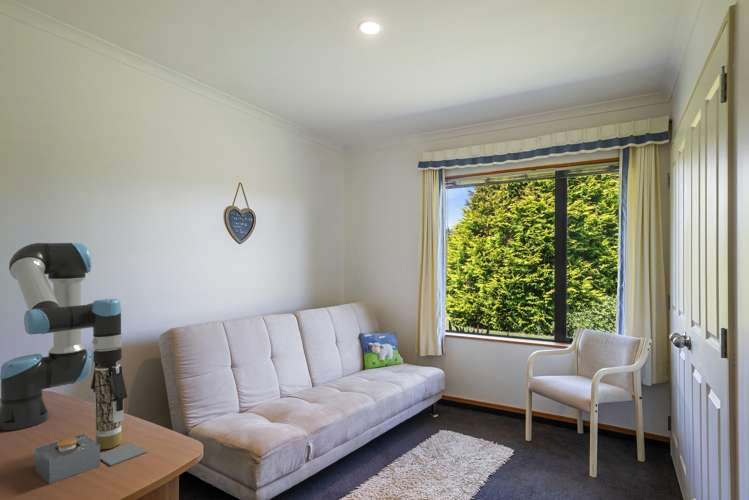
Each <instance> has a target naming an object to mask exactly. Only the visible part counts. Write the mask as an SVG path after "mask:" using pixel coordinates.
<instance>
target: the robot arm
mask: <svg viewBox="0 0 749 500" xmlns="http://www.w3.org/2000/svg"><path fill="white" fill-rule="evenodd" d="M8 269H9V273H10V275H11V277H12V278H13V279H14V280H16V281H17V283H18V286H19V289H20V291H21V293H22V295H23V296H22V297H23V298H24V301H25V303H26V306H27V309H28V310H27V311H25V313H24V316H23V317H24V318H23V326H24V330H25V332H26V334H28V335H46V334H53V338H52V339H53V340H52V341H53V346H52V347H51V348H50V349H49V350H48V355H47V356H43V355H42V354H41V353H32V354H26V355H22V356H21V355H20V356H18V357H15V358H12V359H11V358H10V359H9V360H7V361H5V362H3V364H2V365H1V367H0V430H2V432H7V431H16V430H17V431H18V430H21V429H26V428H30V427H34V426H38V425H39V424H41V423H44V422H46V421H47V420H48V419H49V418H50V413H49V409H48V407H47V404H46V402H45V400H44V398H43V390H47V389H51V388H56V387H61V386H66V385H73V384H75V383H80V382H83V381H84V380H86V379H87V378H88V377H89V375H90V372H91V369H92V356H93V363H94V370H93V374H92V380H91V384H90V389H91V390H92V391H93V394H94V395H93V398H94V399H93V401H94V414H95V415H96V398H95V367H96V366H98V365H101V366H104V367H107V368H108V370H109V374H112V377H111V378H109V376H108V375H106V382H108V383H109V385H110V388H111V391H112V394H113V397H114V399H113V400H112V402H113V422H114V423H115V422H119V421H121V422H122V421H124V420H125V417H124V416H125V413H124V409H125V407H124V399H127V398H128V394H127V393H128V392H127V389H126V385H125V384H126V382H125V380H124V375H123V366H122V365H120V366H117V365H116V363H118V362H119V361H121V360H122V357H123V354H122V350H123V349H122V348H121V347H122V345H123V343H122V340H123V339H122V307H121V306H122V305H121V304H122V303H121V301H120V299H118V298H102V299H95V300H94V301H93V302H91V303H87V304H81V303H82V296H81V295H82V291H81V290H82V285H81V284H82V281H84V279H86V274H88V273H90V272H91V270H92V258H91V254H90V251H89V249H88V247H87V246H86V245H85V244H83V243H77V242H74V243H73V242H35V243H30V244H27V245H25V246H23V247H22V248H20V249H18V250H17V251H16V252H15V253H14V254H13V255H12V257H11V258H10V260H9V263H8ZM46 275H48V278H47V277H46ZM49 281H50V282H52V284H53V285H52V286H53V289H52V287H51V285H50V283H49ZM89 328H90V329H92V332H93V333H92V334H93V335H92V336H93V337H92V338H93V339H92V340H91V343H92V344H93V349H94V351H93V355H92V354H91V351H90V350H88V349H86V345H84V344H82V338H81V337H82V329H89ZM116 374H117V375H116Z"/></svg>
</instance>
